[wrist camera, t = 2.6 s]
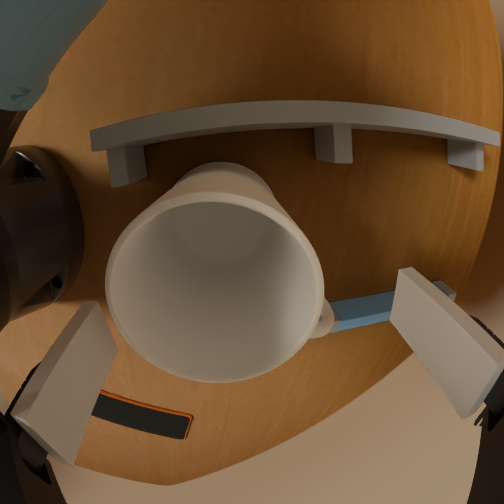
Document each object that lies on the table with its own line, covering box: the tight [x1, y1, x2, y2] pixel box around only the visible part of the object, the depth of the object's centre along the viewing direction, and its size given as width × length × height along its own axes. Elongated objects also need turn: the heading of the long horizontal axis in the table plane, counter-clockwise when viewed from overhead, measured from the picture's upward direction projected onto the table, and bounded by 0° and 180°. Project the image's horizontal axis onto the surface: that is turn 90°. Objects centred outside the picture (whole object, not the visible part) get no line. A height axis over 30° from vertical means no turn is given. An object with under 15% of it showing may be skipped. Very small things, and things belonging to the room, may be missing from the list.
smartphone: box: [91, 390, 192, 440], centre depth 29 cm, size 8×17×1 cm, turn 72°
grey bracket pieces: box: [90, 100, 500, 334], centre depth 18 cm, size 29×17×6 cm, turn 95°
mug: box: [105, 162, 334, 383], centre depth 15 cm, size 12×8×12 cm
